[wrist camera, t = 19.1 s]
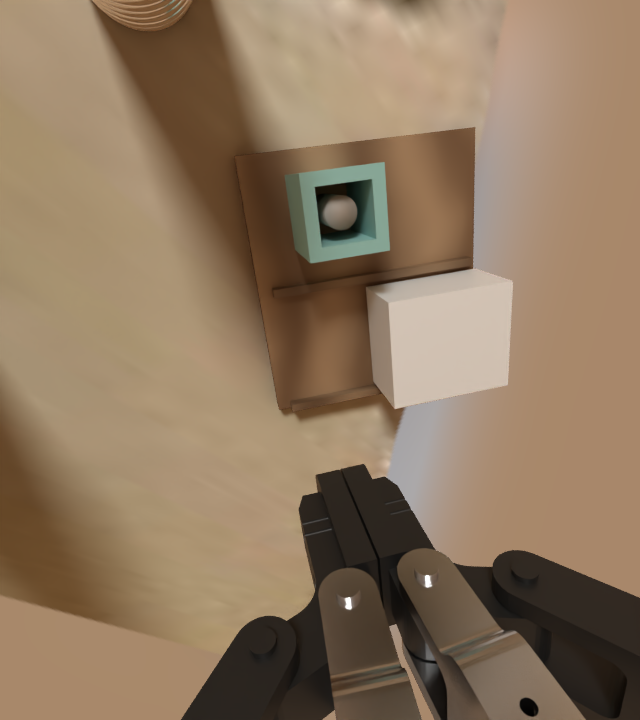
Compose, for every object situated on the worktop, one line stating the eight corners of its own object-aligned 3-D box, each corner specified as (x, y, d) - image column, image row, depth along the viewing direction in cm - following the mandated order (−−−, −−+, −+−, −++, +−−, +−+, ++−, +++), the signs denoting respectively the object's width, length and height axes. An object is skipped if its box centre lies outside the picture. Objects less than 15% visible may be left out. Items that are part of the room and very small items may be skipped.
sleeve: (295, 249, 32) (310, 263, 27) (284, 175, 30) (298, 173, 25) (361, 239, 33) (389, 250, 28) (355, 165, 31) (384, 162, 26)
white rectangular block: (373, 381, 37) (394, 409, 33) (365, 286, 34) (388, 302, 30) (473, 361, 38) (507, 385, 34) (475, 268, 35) (513, 281, 31)
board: (277, 403, 38) (287, 441, 32) (234, 157, 30) (237, 151, 25) (464, 365, 40) (504, 395, 35) (466, 129, 33) (517, 117, 27)
